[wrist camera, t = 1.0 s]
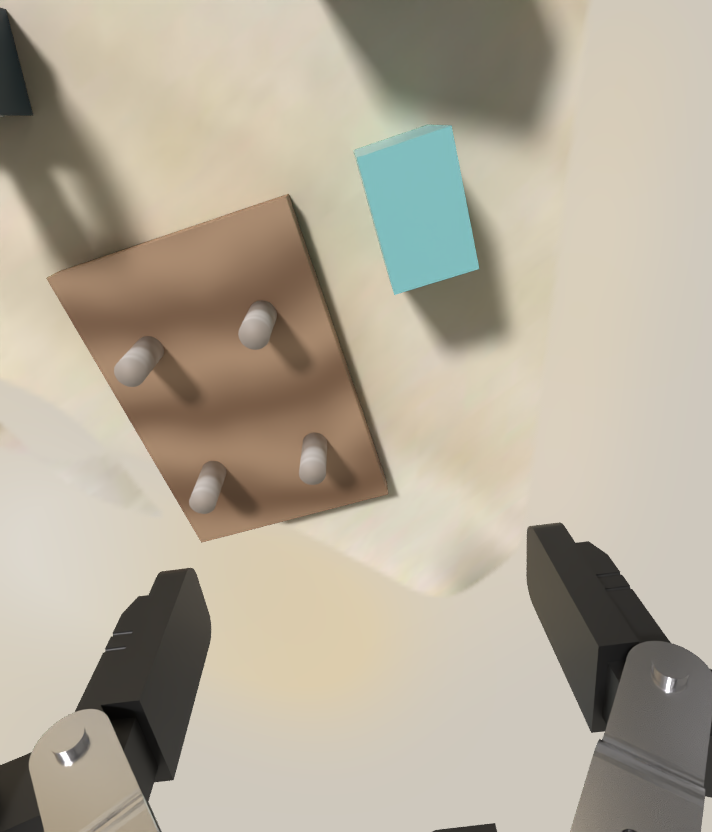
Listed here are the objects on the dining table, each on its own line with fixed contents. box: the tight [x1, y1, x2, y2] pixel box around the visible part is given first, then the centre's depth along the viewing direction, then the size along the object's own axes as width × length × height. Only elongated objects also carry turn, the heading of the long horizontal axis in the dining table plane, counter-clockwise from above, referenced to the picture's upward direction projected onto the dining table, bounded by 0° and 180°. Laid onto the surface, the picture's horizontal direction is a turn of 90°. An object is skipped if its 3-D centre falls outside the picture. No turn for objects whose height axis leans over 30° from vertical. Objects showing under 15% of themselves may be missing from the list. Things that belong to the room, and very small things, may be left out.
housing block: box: [354, 125, 479, 295], centre depth 26 cm, size 6×4×7 cm, turn 17°
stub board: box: [47, 194, 388, 542], centre depth 32 cm, size 20×14×5 cm
